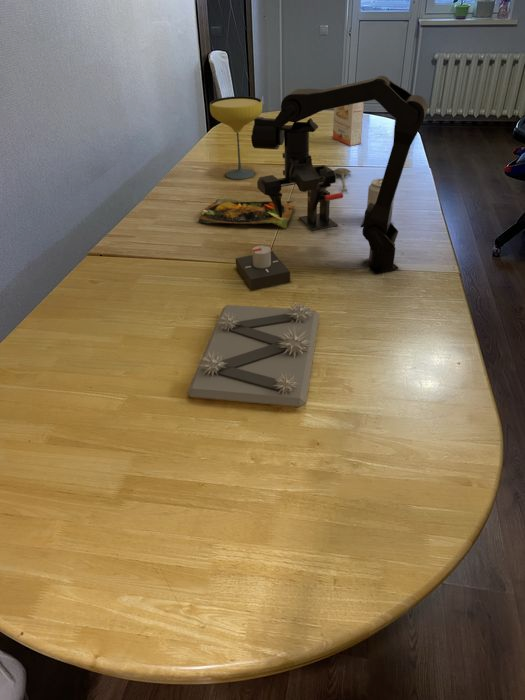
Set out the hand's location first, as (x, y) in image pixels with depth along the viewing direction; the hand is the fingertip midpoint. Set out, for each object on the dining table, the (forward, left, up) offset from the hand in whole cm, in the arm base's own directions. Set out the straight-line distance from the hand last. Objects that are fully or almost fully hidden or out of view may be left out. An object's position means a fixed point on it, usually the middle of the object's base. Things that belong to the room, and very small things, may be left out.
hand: (297, 214), depth 130 cm
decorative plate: (-37, +24, -12) cm, 46 cm away
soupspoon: (+46, -37, -12) cm, 60 cm away
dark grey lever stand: (+17, -14, -12) cm, 25 cm away
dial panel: (-6, +12, -12) cm, 18 cm away
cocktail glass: (+70, -7, -12) cm, 71 cm away
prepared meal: (+31, +3, -12) cm, 33 cm away
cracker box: (+91, -62, -12) cm, 111 cm away
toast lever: (+12, -14, -3) cm, 19 cm away
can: (+11, -31, -12) cm, 35 cm away
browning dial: (-6, +12, -9) cm, 16 cm away
